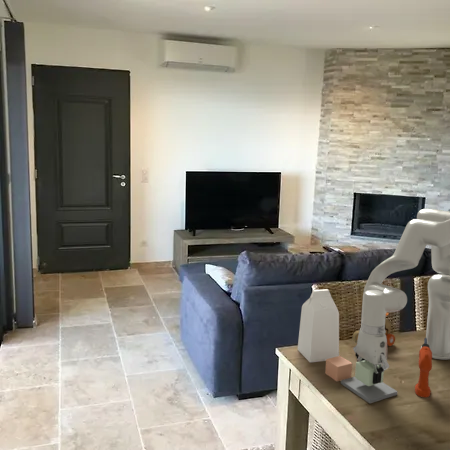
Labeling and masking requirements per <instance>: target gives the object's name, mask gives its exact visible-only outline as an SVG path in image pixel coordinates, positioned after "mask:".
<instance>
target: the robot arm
mask: <svg viewBox="0 0 450 450" xmlns="http://www.w3.org/2000/svg"><path fill="white" fill-rule="evenodd" d="M427 246H429V247H431V249H430V250H431V254H430V255H431V266H432V267H431V268H432V270H433V271H435V272H436V274H433V275H431V277H430V278H429V279H428V282H427V293H428V312H427V318H426V319H427V320H426V331H425V338H427V344H428V345H429V347H430V349H431V351H432V359H435V360H446V361H447V360H448V361H449V360H450V211H448V210H441V209H435V208H423V209H420V210H419V211H418V212H417V214H416V218H413V219H411V220H409V221H408V222H407V224H406V226H405V228H404V230H403V232H402V235H401V237H400V240H398V243H397V245H396V248H395V251H394V253H393V254H392V255H391V256H389V257H388V258H386V259H385V260H384V261H381V263H380V264H378V265H377V266H375V268H374V269H372V271H371V272H370V275H369V277H368V279H367V281H366V283H365V286H364V289H363V295H362V303H361V304H362V306H361V322H360V328H359V330H358V331H359V335H358V340H357V343H356V345H355V346H354V347H353V351H354V355H355V357H356V362H359V361H363V360H367V361H369V362H370V363H372V364H373V366H374V371H375V372H373V384H377V383H380V382H381V375H382V372H383V371H384V372H385V371H387V370H388V369H390V364H389V362H388V345H387V338H386V335H385V333H386V331H385V319H387V318H386V317H387V316H386V313H387V312H388V313H395V312H399V311H402V310H403V309H404V308H405V307H406V305H407V303H408V296H407V294H406V293H405V291H403V290H402V289H399V288H395V287H393V286H390V285H386V284H383V281H384V280H385V279H386V278H387V277H388V276H390V275H391V274H395V273H397V272H401V271H406V270H411V269H414V268H416V267H417V266H418V265H419V263H420V260H421V258H422V256H423V253H424V251H425V249H426V247H427ZM421 348H422V345H421V346H420V349H421ZM377 365H379V368H378V367H377Z"/></svg>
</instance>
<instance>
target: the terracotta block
mask: <svg viewBox="0 0 450 450" xmlns="http://www.w3.org/2000/svg"><path fill="white" fill-rule="evenodd" d="M352 369H353V362H351V361H350V360H348V359H346V358H345V357H343V356H341V355H339V356H337V357H333V358H329V359H326V361H325V371H324V372H325V374H326V376H328V377H330V378H332V379H333V381H335V382H339V381H340V382H341V380H344V379H348V378H351V377H352V373H353V372H352Z"/></svg>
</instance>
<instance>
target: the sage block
mask: <svg viewBox="0 0 450 450" xmlns="http://www.w3.org/2000/svg"><path fill="white" fill-rule="evenodd" d="M377 367H378V368H379V365H377ZM354 370H355V373H354V374H355V375H354V377H355V378H356V379H358V380H359V381H361V382H362V383H364V384H365V385H367V386H371V385H375V384H373V372H375V371H374V366H373V364H372V363H370V362H369V361H367V360H363V361H359V362H357V361H356V362H355V369H354ZM384 375H385V371H383V372H382V375H381V382H380V383H382V382H383V383H384ZM377 384H378V383H377Z"/></svg>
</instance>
